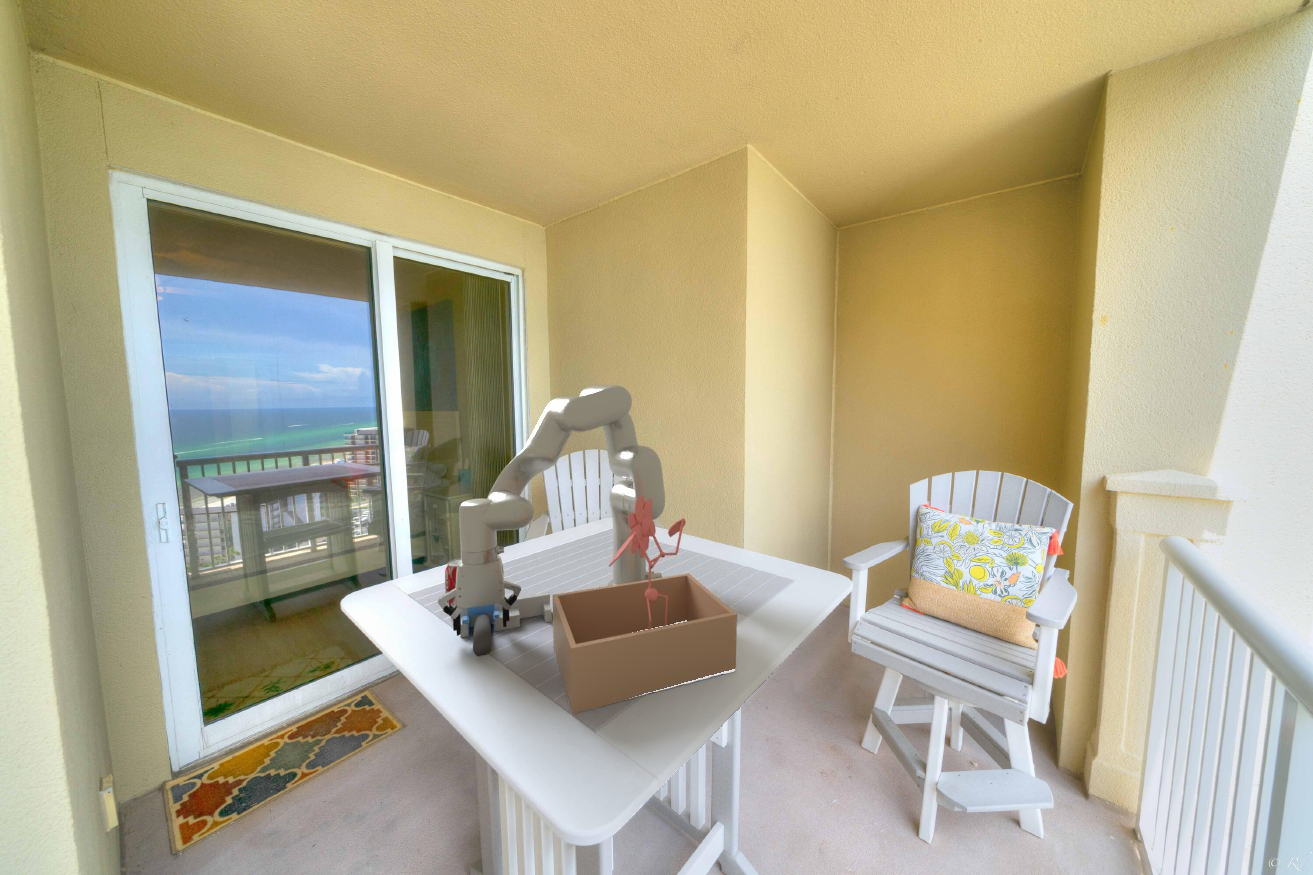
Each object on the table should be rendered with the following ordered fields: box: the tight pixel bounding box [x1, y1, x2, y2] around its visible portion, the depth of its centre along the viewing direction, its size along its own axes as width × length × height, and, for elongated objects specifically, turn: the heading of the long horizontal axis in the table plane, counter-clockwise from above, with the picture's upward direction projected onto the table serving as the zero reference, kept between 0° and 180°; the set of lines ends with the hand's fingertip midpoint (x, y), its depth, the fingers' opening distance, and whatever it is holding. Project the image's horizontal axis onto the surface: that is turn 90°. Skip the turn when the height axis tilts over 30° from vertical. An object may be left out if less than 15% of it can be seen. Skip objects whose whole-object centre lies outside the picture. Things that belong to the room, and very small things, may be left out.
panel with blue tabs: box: [460, 592, 553, 638], centre depth 105 cm, size 21×6×5 cm, turn 112°
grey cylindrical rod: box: [472, 614, 492, 657], centre depth 98 cm, size 12×4×4 cm, turn 21°
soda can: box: [444, 557, 461, 607], centre depth 114 cm, size 7×7×12 cm
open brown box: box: [552, 573, 738, 715], centre depth 91 cm, size 33×22×12 cm, turn 112°
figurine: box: [608, 495, 687, 629], centre depth 90 cm, size 15×26×35 cm, turn 156°
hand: (482, 628), depth 98 cm, fingers open, 9 cm apart
